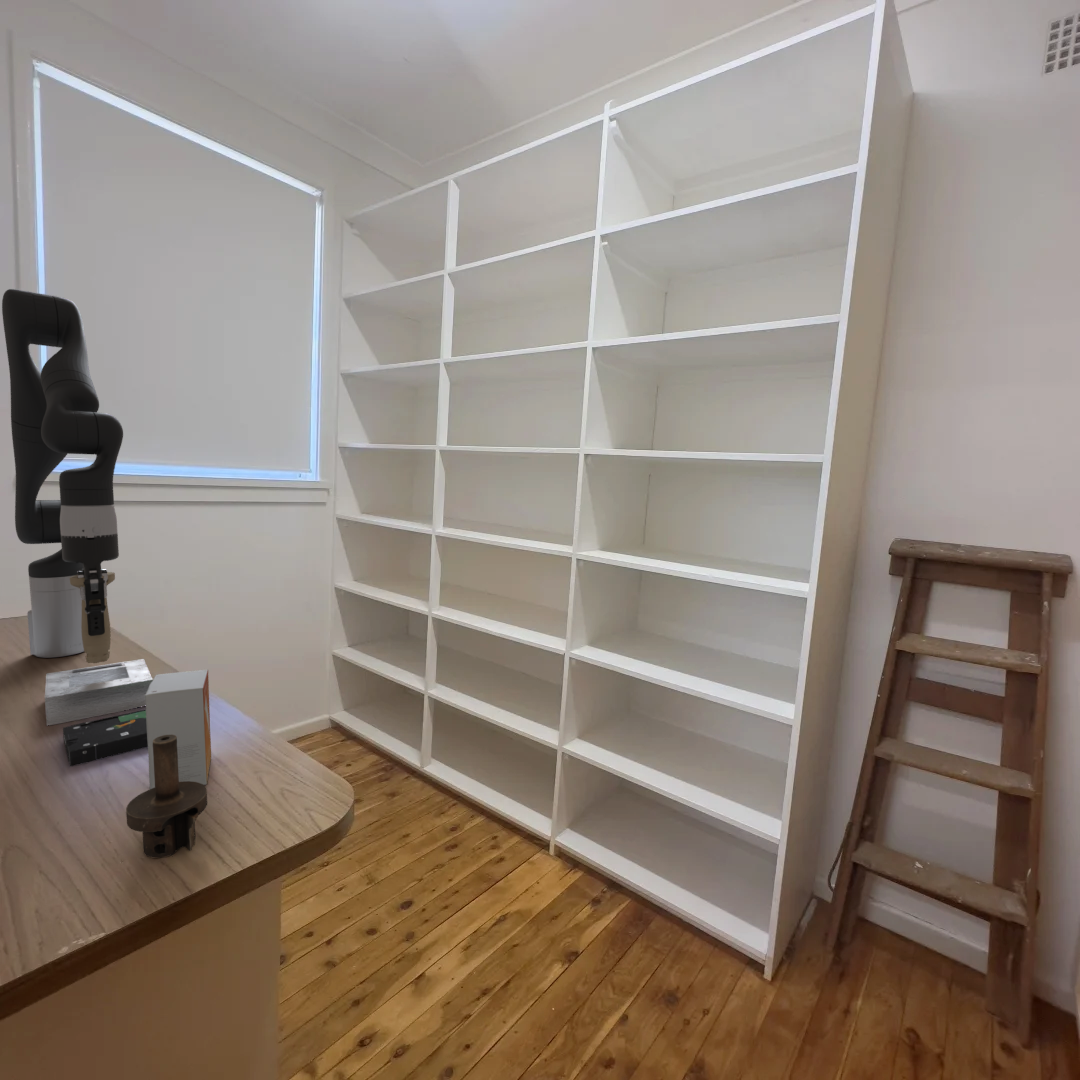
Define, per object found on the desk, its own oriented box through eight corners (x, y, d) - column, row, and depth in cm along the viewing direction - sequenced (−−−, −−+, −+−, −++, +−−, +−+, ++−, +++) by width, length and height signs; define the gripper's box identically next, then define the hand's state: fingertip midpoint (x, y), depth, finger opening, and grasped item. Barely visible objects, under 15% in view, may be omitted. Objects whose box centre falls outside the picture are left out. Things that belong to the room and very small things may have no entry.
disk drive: (70, 772, 77) (195, 737, 88) (68, 752, 77) (194, 720, 87) (62, 745, 85) (178, 716, 95) (61, 727, 85) (177, 700, 95)
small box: (208, 785, 74) (203, 687, 72) (148, 796, 71) (143, 694, 69) (212, 757, 81) (208, 667, 79) (159, 766, 78) (154, 673, 77)
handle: (126, 656, 102) (121, 572, 100) (95, 667, 95) (89, 578, 94) (100, 654, 102) (95, 571, 100) (68, 666, 96) (62, 577, 94)
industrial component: (221, 844, 62) (216, 738, 61) (143, 879, 57) (136, 763, 55) (187, 811, 68) (182, 713, 67) (114, 839, 62) (107, 734, 61)
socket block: (46, 726, 90) (44, 697, 89) (48, 698, 100) (46, 672, 100) (154, 704, 98) (152, 678, 98) (144, 681, 109) (143, 657, 109)
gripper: (60, 529, 99) (67, 626, 101) (60, 537, 88) (68, 645, 90) (114, 527, 104) (119, 620, 106) (120, 534, 93) (126, 637, 95)
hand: (96, 631), depth 98 cm, fingers closed on handle, 4 cm apart
